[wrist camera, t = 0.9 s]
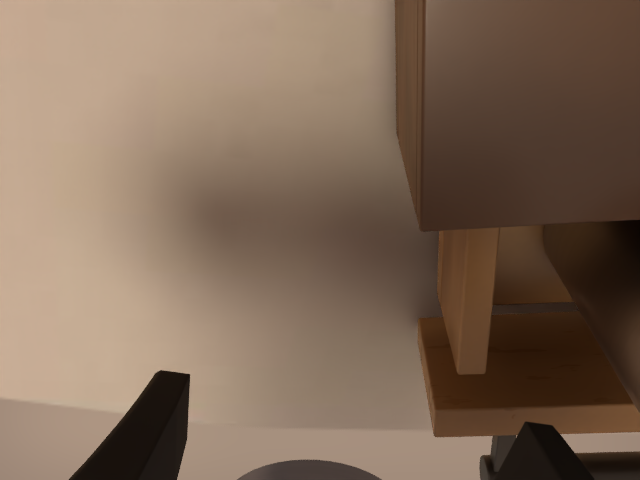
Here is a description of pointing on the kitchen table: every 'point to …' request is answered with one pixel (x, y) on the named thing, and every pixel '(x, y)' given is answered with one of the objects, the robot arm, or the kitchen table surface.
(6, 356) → the kitchen table surface
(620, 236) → the metal canister
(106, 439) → the robot arm
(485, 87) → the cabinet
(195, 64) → the kitchen table surface
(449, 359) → the drawer
